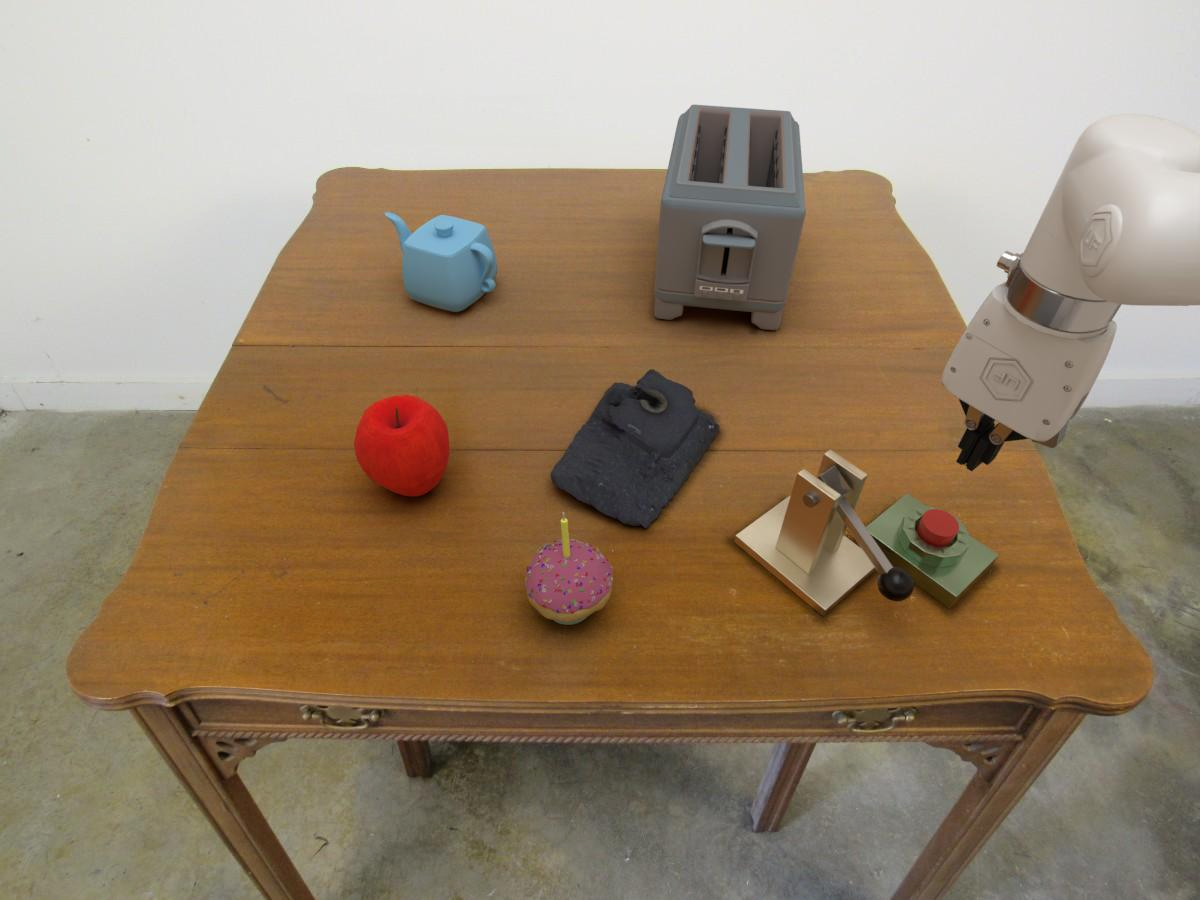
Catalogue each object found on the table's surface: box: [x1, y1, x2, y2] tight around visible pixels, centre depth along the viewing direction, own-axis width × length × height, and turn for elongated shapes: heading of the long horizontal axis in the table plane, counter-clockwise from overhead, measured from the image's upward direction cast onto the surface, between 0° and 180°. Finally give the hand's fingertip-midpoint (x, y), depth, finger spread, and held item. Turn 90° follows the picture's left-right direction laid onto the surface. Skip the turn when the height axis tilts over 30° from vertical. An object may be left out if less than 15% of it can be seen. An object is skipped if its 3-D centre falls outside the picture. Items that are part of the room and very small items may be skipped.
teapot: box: [384, 211, 498, 313], centre depth 109 cm, size 12×18×12 cm
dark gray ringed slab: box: [550, 368, 720, 529], centre depth 87 cm, size 15×22×5 cm
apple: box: [353, 394, 451, 498], centre depth 80 cm, size 10×10×12 cm
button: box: [917, 508, 959, 547], centre depth 76 cm, size 4×4×2 cm
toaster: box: [653, 104, 807, 331], centre depth 109 cm, size 19×33×20 cm, turn 171°
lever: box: [814, 466, 915, 602], centre depth 70 cm, size 14×3×3 cm, turn 39°
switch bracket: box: [733, 448, 877, 617], centre depth 74 cm, size 12×9×13 cm
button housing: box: [865, 492, 1000, 609], centre depth 77 cm, size 11×8×4 cm
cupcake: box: [524, 511, 614, 626], centre depth 70 cm, size 9×8×12 cm
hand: (972, 459), depth 69 cm, fingers closed
